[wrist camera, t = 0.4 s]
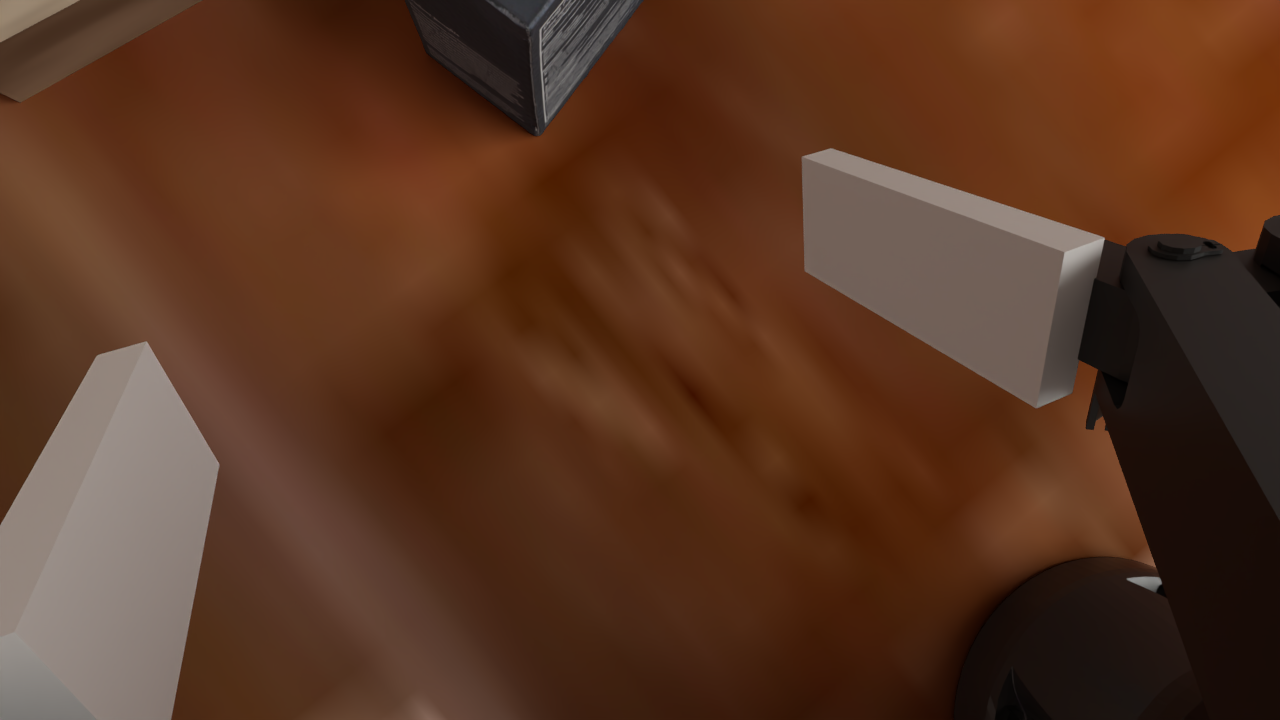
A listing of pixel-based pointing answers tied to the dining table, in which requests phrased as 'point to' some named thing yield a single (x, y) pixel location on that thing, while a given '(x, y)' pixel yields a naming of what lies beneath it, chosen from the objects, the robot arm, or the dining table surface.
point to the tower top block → (26, 14)
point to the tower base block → (76, 40)
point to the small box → (520, 48)
